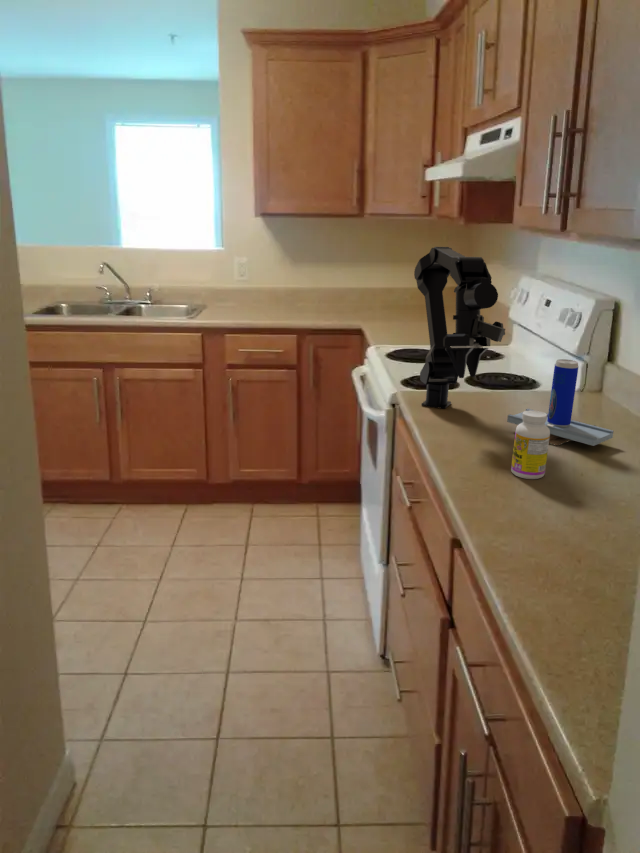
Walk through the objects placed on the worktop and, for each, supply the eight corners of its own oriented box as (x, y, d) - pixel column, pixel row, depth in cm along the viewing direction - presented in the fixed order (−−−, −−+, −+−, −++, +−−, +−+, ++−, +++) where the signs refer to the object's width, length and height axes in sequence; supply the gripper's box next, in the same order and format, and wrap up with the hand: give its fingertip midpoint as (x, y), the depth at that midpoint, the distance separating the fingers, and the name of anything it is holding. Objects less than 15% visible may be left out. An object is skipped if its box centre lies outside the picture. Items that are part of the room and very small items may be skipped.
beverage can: (546, 420, 177) (554, 358, 172) (568, 422, 176) (577, 360, 171) (547, 426, 172) (556, 362, 167) (571, 428, 171) (580, 364, 166)
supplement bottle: (507, 467, 154) (514, 408, 151) (539, 469, 154) (547, 409, 150) (514, 479, 148) (521, 417, 144) (548, 481, 148) (556, 418, 144)
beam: (506, 421, 179) (507, 414, 178) (527, 415, 185) (528, 408, 184) (593, 445, 164) (594, 437, 163) (612, 437, 170) (613, 430, 169)
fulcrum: (533, 439, 173) (534, 432, 173) (557, 430, 180) (558, 423, 180) (557, 445, 169) (557, 438, 169) (580, 436, 176) (581, 429, 176)
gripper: (491, 307, 164) (490, 379, 166) (511, 311, 181) (510, 376, 182) (442, 309, 169) (442, 378, 171) (466, 313, 186) (466, 376, 187)
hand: (467, 377), depth 178 cm, fingers open, 9 cm apart
